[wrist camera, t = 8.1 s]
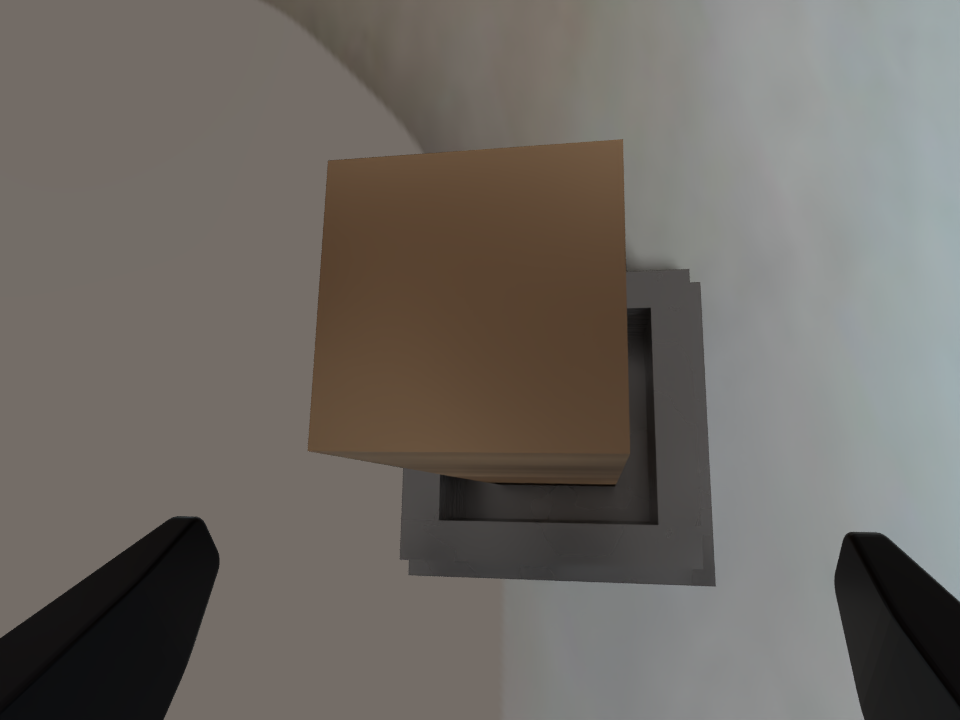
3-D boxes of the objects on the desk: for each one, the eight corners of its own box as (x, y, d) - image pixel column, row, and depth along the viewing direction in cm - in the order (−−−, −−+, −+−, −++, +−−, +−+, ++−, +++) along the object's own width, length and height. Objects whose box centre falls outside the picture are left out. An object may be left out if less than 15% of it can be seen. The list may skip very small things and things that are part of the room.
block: (615, 486, 20) (630, 453, 7) (498, 484, 21) (307, 450, 8) (613, 371, 21) (622, 139, 8) (500, 372, 22) (328, 160, 8)
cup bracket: (710, 582, 20) (738, 603, 16) (417, 571, 22) (370, 588, 18) (696, 291, 22) (717, 240, 18) (426, 301, 24) (386, 256, 20)
